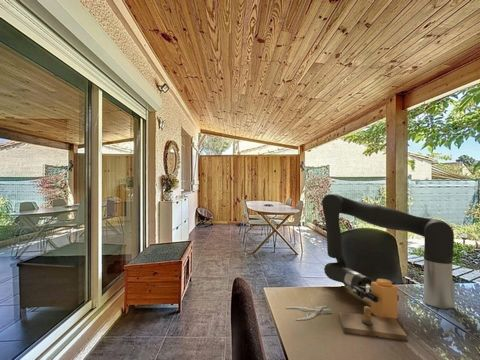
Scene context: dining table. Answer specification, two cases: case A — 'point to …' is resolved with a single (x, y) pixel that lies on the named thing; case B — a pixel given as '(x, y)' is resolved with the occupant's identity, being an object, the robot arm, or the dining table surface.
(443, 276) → the robot arm
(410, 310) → the dining table surface
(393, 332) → the board
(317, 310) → the pliers
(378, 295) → the orange toy brick
